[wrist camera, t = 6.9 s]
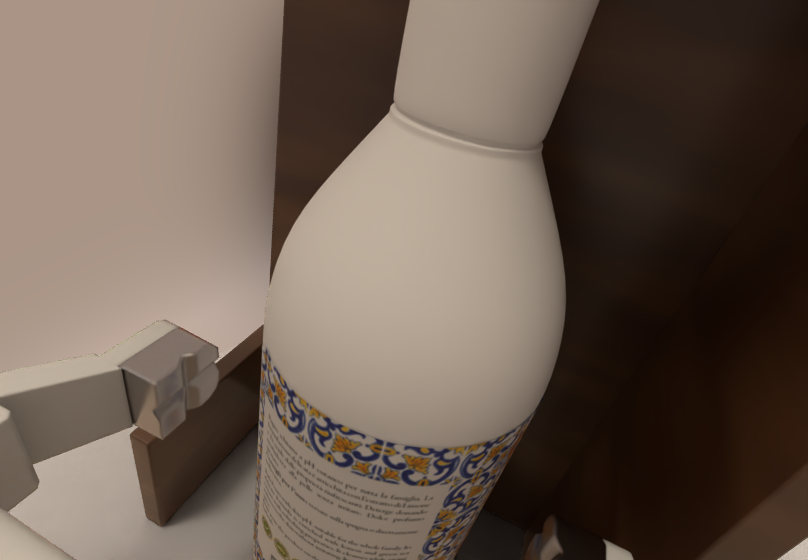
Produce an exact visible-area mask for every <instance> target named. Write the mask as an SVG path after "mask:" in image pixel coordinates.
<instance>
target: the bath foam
mask: <svg viewBox="0 0 808 560" xmlns="http://www.w3.org/2000/svg"><path fill="white" fill-rule="evenodd" d="M599 1H600V0H410V3H409V9H408V14H407V20H406V25H405V30H404V36H403V42H402V47H401V53H400V59H399V64H398V70H397V76H396V83H395V90H394V102H395V103H393V104H392V105H391V107H390V111H389V113H388V114H387V115H386V116H385V117H384V118H383V119H382V120H381V121H380V123H379V124H378V125H377V126H376V127H375V128H374V129H373V130H372V131H371V132H370V133H369V134H368V135H367V136H366V137H365V139H364V140H363V141H362V142H361V143H360V144H359V145H358V146H357V147H356V148H355V149H354V150H353V151H352V153H351V154H350V155H349V156H348V157H347V158H346V159H345V160H344V161H343V162H342V163H341V164H340V166H339V167H338V168H337V169H336V170H335V171H334V172H333V173H332V174H331V176H330V177H329V178H328V179H327V180H326V181H325V183H324V184H323V185H322V186H321V187H320V188H319V190H318V191H317V192H316V193H315V195H314V196H313V197H312V199H311V200H310V201H309V203H308V204H307V205H306V207H305V208H304V210H303V211H302V213H301V214H300V216H299V217H298V219H297V220H296V222H295V223H294V225H293V227H292V229H291V231H290V233H289V235H288V237H287V239H286V241H285V243H284V245H283V247H282V250H281V252H280V255H279V257H278V260H277V263H276V266H275V269H274V272H273V276H272V279H271V283H270V287H269V291H268V296H267V302H266V308H265V318H264V329H263V346H262V366H261V387H260V408H259V430H258V451H257V472H256V493H255V515H254V536H253V560H453V559H454V558H455V556H456V554H457V552H458V550H459V549H460V547H461V545H462V543H463V541H464V540H465V538H466V536H467V534H468V532H469V531H470V529H471V527H472V525H473V524H474V522H475V520H476V518H477V516H478V515H479V513H480V511H481V509H482V507H483V506H484V504H485V502H486V500H487V498H488V497H489V495H490V493H491V491H492V490H493V488H494V486H495V484H496V482H497V481H498V479H499V477H500V475H501V473H502V472H503V470H504V468H505V466H506V465H507V463H508V461H509V459H510V457H511V456H512V454H513V452H514V450H515V448H516V447H517V445H518V443H519V441H520V439H521V438H522V436H523V434H524V432H525V431H526V429H527V427H528V425H529V423H530V422H531V420H532V418H533V416H534V414H535V413H536V411H537V409H538V407H539V406H540V404H541V402H542V400H543V398H544V395H545V392H546V389H547V386H548V383H549V381H550V378H551V376H552V373H553V370H554V367H555V363H556V360H557V357H558V353H559V349H560V345H561V340H562V334H563V328H564V322H565V309H566V284H565V271H564V263H563V255H562V250H561V244H560V238H559V233H558V228H557V223H556V218H555V213H554V209H553V204H552V199H551V195H550V190H549V185H548V181H547V176H546V172H545V167H544V163H543V158H542V153H541V152H542V149H543V143H542V141H543V140H544V138H545V137H546V135H547V132H548V130H549V128H550V126H551V123H552V121H553V119H554V116H555V114H556V111H557V109H558V106H559V104H560V101H561V99H562V96H563V94H564V91H565V89H566V86H567V84H568V81H569V78H570V76H571V73H572V71H573V68H574V65H575V63H576V60H577V58H578V55H579V52H580V50H581V47H582V45H583V42H584V39H585V37H586V34H587V32H588V29H589V26H590V24H591V21H592V19H593V16H594V13H595V11H596V8H597V6H598V3H599Z"/></svg>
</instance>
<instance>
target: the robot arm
mask: <svg viewBox="0 0 808 560" xmlns="http://www.w3.org/2000/svg"><path fill="white" fill-rule="evenodd" d="M218 358H219V353H218V347H216V346H214V345H213V344H211V343H209V342H207V341H205V340H203V339H201V338H200V337H198V336H196V335H194V334H192V333H190V332H188V331H186V330H185V329H183V328H181V327H179V326H177V325H175V324H173V323H171V322H169V321H167V320H161V321H156V322H155V323H153V324H151V325H150V326H148V327H146V328H145V329H143V330H141V331H140V332H138V333H136V334H135V335H133V336H132V337H130V338H128V339H127V340H125V341H123V342H122V343H120V344H118V345H117V346H115V347H113V348H112V349H110V350H109V351H107V352H105V353H104V354H102V355H100V356H98V355H96V354H90V355H85V356H80V357H75V358H70V359H65V360H59V361H55V362H49V363H44V364H39V365H34V366H29V367H24V368H19V369H14V370H8V371H3V372H0V560H76V559H74V558H73V557H71V556H70V555H69V554H67V553H66V552H64V551H63V550H61V549H60V548H59V547H57V546H56V545H54V544H53V543H51V542H50V541H48V540H47V539H46V538H44V537H43V536H41V535H40V534H38V533H37V532H35V531H34V530H33V529H31V528H30V527H28V526H27V525H25V524H24V523H23V522H21V521H20V520H18V519H17V518H15V517H14V516H12V515H11V514H10V513H8V511H10V510H11V509H12V508H13V507H15V506H16V505H17V504H18V503H20V502H21V501H22V500H23V499H25V498H26V497H27V496H28V495H30V494H31V493H32V492H34V491H35V490H36V489H37V488H38V485H39V482H40V481H39V479H38V477H37V474H36V472H35V469H34V467H33V464H35V463H38V462H41V461H43V460H46V459H49V458H51V457H54V456H56V455H59V454H62V453H64V452H67V451H69V450H72V449H75V448H77V447H80V446H82V445H85V444H88V443H90V442H93V441H96V440H98V439H101V438H103V437H106V436H109V435H111V434H114V433H116V432H119V431H122V430H124V429H127V428H130V427H132V426H133V425H132V424H134V425H135V426H137V427H139V428H141V429H143V430H145V431H147V432H149V433H150V434H152V435H154V436H156V437H158V438H160V439H162V440H163V439H164V438H165V437H166V436H167V435H169V434H170V433H171V432H172V431H173V430H174V429H175V428H177V427H178V426H179V425H180V424H181V423H182V422H183V421H185V420H186V416H187V411H188V410H190V409H193V408H197V407H200V406H201V405H202V404H204V403H205V402H206V401H207V400H208V399H209V398H210V397H211V395H212V394H213V392H214V391H215V389H216V387H217V385H218V381H219V370H218V368H217V366H216V364H215V363H214V361H215V360H217V359H218ZM524 560H634V559H633V557H632V554H631V553H630V552H629V551H627V550H625V549H623V548H621V547H619V546H617V545H615V544H613V543H610V542H608V541H606V540H604V539H602V537H600V536H598V535H596V534H594V533H592V532H590V531H588V530H585V529H583V528H581V527H579V526H577V525H575V524H573V523H571V522H569V521H567V520H565V519H563V518H561V517H559V516H556V515H554V514H551V515H549V516H548V518H547V519H546V520H545V522H544V526H543V532H542V533H538V534H535V536H534V537H533V539H532V540H531V542H530V544H529V546H528V549H527V551H526V554H525V556H524Z"/></svg>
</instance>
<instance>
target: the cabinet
mask: <svg viewBox="0 0 808 560" xmlns="http://www.w3.org/2000/svg"><path fill="white" fill-rule="evenodd" d="M409 3H410V0H284V16H283V36H282V56H281V74H280V95H279V113H278V134H277V152H276V172H275V190H274V210H273V229H272V230H273V231H272V248H271V249H272V250H271V267H270V283H271V279H272V276H273V272H274V269H275V266H276V263H277V260H278V257H279V255H280V252H281V250H282V247H283V245H284V243H285V241H286V239H287V237H288V235H289V233H290V231H291V229H292V227H293V225H294V223H295V222H296V220H297V219H298V217H299V216H300V214H301V213H302V211H303V210H304V208H305V207H306V205H307V204H308V203H309V201H310V200H311V199H312V197H313V196H314V195H315V193H316V192H317V191H318V190H319V188H320V187H321V186H322V185H323V184H324V183H325V181H326V180H327V179H328V178H329V177H330V176H331V174H332V173H333V172H334V171H335V170H336V169H337V168H338V167H339V166H340V164H341V163H342V162H343V161H344V160H345V159H346V158H347V157H348V156H349V155H350V154H351V153H352V151H353V150H354V149H355V148H356V147H357V146H358V145H359V144H360V143H361V142H362V141H363V140H364V139H365V137H366V136H367V135H368V134H369V133H370V132H371V131H372V130H373V129H374V128H375V127H376V126H377V125H378V124H379V123H380V121H381V120H382V119H383V118H384V117H385V116H386V115H387V114H388V113H389V111H390V107H391V105H392V104H393V103H395V102H394V90H395V83H396V76H397V70H398V64H399V59H400V53H401V47H402V42H403V36H404V30H405V25H406V20H407V14H408V9H409ZM542 143H543V149H542V152H541V153H542V158H543V163H544V167H545V172H546V176H547V181H548V185H549V190H550V195H551V199H552V204H553V209H554V213H555V218H556V223H557V228H558V233H559V238H560V244H561V250H562V255H563V263H564V271H565V284H566V309H565V322H564V328H563V334H562V340H561V345H560V349H559V353H558V357H557V360H556V363H555V367H554V370H553V373H552V376H551V378H550V381H549V383H548V386H547V389H546V392H545V395H544V398H543V400H542V402H541V404H540V406H539V407H538V409H537V411H536V413H535V414H534V416H533V418H532V420H531V422H530V423H529V425H528V427H527V429H526V431H525V432H524V434H523V436H522V438H521V439H520V441H519V443H518V445H517V447H516V448H515V450H514V452H513V454H512V456H511V457H510V459H509V461H508V463H507V465H506V466H505V468H504V470H503V472H502V473H501V475H500V477H499V479H498V481H497V482H496V484H495V486H494V488H493V490H492V491H491V493H490V495H489V497H488V498H487V500H486V502H485V504H484V506H483V507H482V508H484V509H486V510H488V511H490V512H492V513H494V514H496V515H497V516H499V517H501V518H503V519H505V520H507V521H509V522H511V523H513V524H515V525H517V526H519V527H521V528H523V529H525V530H526V532H525V538H524V544H523V550H522V556H521V560H524V556H525V554H526V551H527V549H528V546H529V544H530V542H531V540H532V539H533V537H534V536H535V534H538V533H542V532H543V526H544V522H545V520H546V519H547V518H548V516H549V515H551V514H554V515H556V516H559V517H561V518H563V519H565V520H567V521H569V522H571V523H573V524H575V525H577V526H579V527H581V528H583V529H585V530H588V531H590V532H592V533H594V534H596V535H598V536H600V537H602V539H604V540H606V541H608V542H610V543H613V544H615V545H617V546H619V547H621V548H623V549H625V550H627V551H629V552H630V553H631V554H632V557H633V559H634V560H777V559H778V558H780V557H781V556H783V555H784V554H785V553H787V552H788V551H790V550H791V549H792V548H794V547H795V546H796V545H798V544H799V543H801V542H802V541H803V540H805V539H806V538H807V537H808V0H600V1H599V3H598V6H597V8H596V11H595V13H594V16H593V19H592V21H591V24H590V26H589V29H588V32H587V34H586V37H585V39H584V42H583V45H582V47H581V50H580V52H579V55H578V58H577V60H576V63H575V65H574V68H573V71H572V73H571V76H570V78H569V81H568V84H567V86H566V89H565V91H564V94H563V96H562V99H561V101H560V104H559V106H558V109H557V111H556V114H555V116H554V119H553V121H552V123H551V126H550V128H549V130H548V132H547V135H546V137H545V138H544V140H543V141H542ZM263 329H264V324H263V325H262V326H261V327H260V328H259V329H257V330H256V331H255V332H254V333H252V334H251V335H250V336H249V337H248V338H246V339H245V340H244V341H243V342H242V343H240V344H239V345H238V346H237V347H235V348H234V349H233V350H232V351H230V352H229V353H228V354H227V355H226V356H224V357H223V358H222V359H221V360H220V361H218V362H217V363H216V366H217V368H218V370H219V381H218V385H217V387H216V389H215V391H214V392H213V394H212V395H211V397H210V398H209V399H208V400H207V401H206V402H205V403H204V404H202V405H201V406H200V407H197V408H193V409H190V410H188V411H187V416H186V420H185V421H183V422H182V423H181V424H180V425H179V426H178V427H177V428H175V429H174V430H173V431H172V432H171V433H170V434H169V435H167V436H166V437H165V438H164V439H163V440H162V439H160V438H158V437H156V436H154V435H152V434H150V433H149V432H147V431H145V430H143V429H141V428H139V427H138V428H137V429H135V430H134V431H133V432H132V433H131V434H130V440H131V444H132V449H133V454H134V459H135V464H136V469H137V474H138V479H139V484H140V489H141V494H142V498H143V503H144V508H145V513H146V517H147V518H148V519H150V520H152V521H153V522H155V523H156V524H158V525H160V526H163V525H164V524H165V523H166V522H167V520H168V519H169V518H170V517H171V516H172V515H173V514H174V513H175V512H176V511H177V510H178V509H179V507H180V506H181V505H182V504H183V503H184V502H185V501H186V500H187V499H188V498H189V497H190V495H191V494H192V493H193V492H194V491H195V490H196V489H197V488H198V487H199V486H200V485H201V484H202V482H203V481H204V480H205V479H206V478H207V477H208V476H209V475H210V474H211V473H212V472H213V470H214V469H215V468H216V467H217V466H218V465H219V464H220V463H221V462H222V461H223V460H224V459H225V457H226V456H227V455H228V454H229V453H230V452H231V451H232V450H233V449H234V448H235V447H236V445H237V444H238V443H239V442H240V441H241V440H242V439H243V438H244V437H245V436H246V435H247V434H248V432H249V431H250V430H251V429H252V428H253V427H254V426H255V425H256V424H257V423H258V422H259V408H260V387H261V366H262V346H263Z"/></svg>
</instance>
